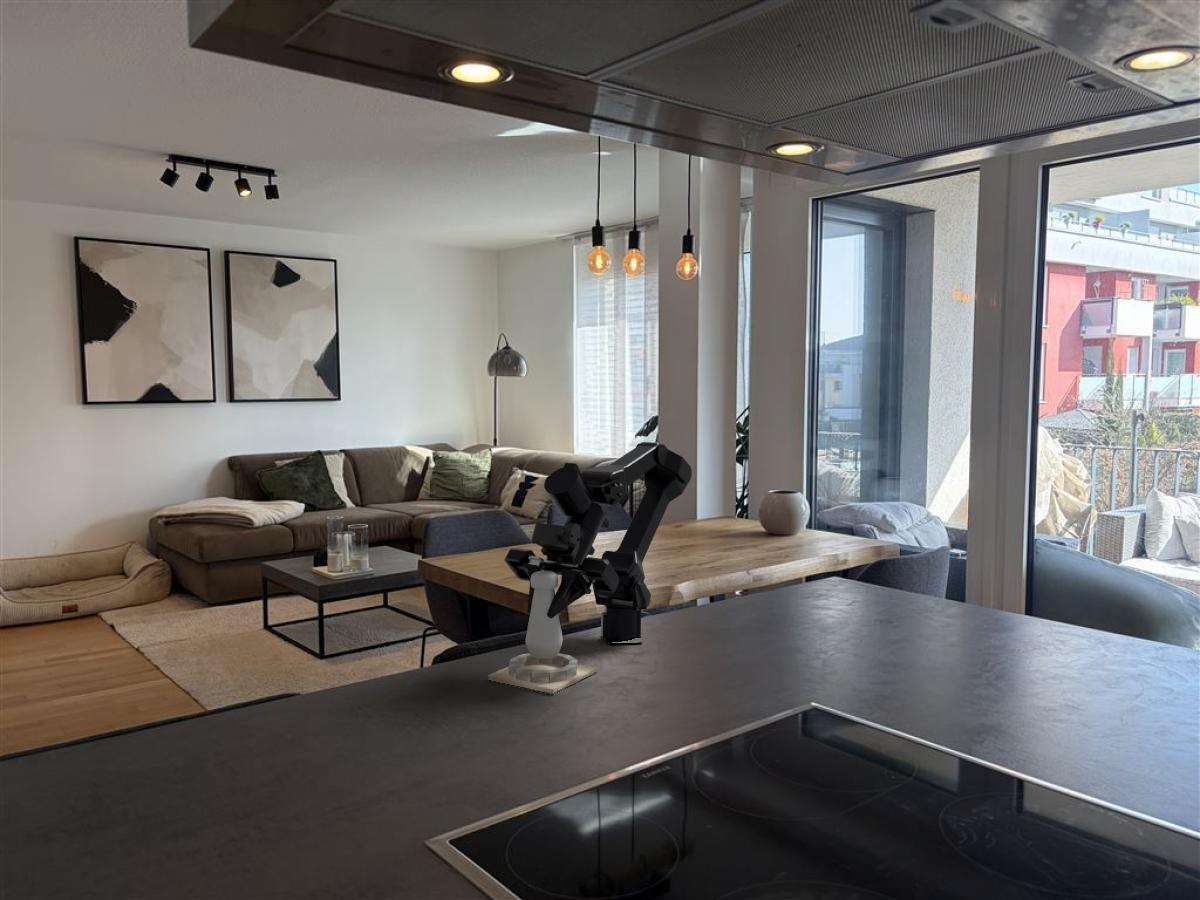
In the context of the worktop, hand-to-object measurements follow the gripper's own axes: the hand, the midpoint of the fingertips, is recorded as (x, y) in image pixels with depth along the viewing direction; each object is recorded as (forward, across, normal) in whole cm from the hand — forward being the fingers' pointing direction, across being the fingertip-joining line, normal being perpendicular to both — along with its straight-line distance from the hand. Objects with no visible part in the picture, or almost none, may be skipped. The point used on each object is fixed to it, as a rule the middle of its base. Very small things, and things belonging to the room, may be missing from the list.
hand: (539, 615), depth 133 cm
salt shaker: (+4, 0, +6) cm, 7 cm away
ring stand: (+6, 0, +8) cm, 10 cm away
